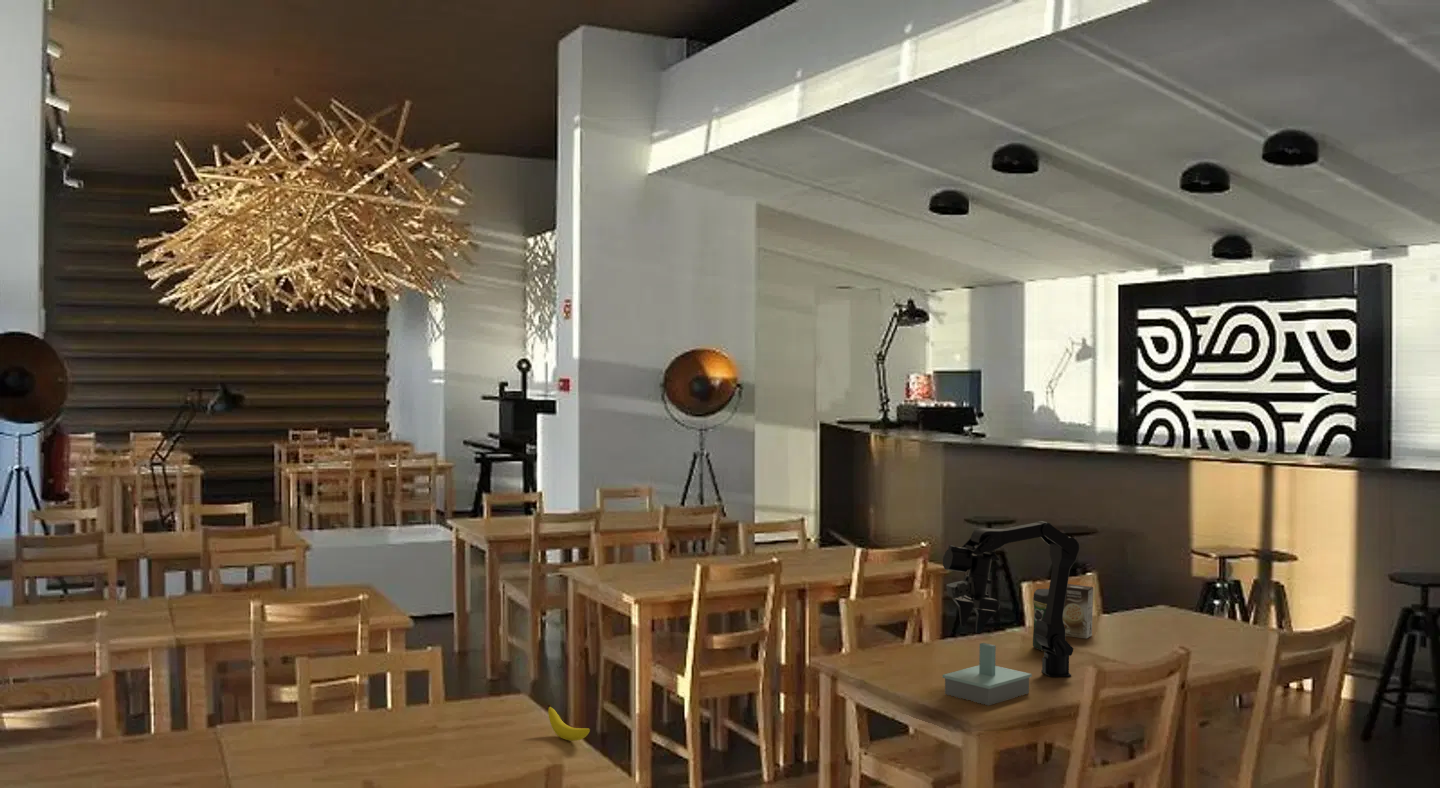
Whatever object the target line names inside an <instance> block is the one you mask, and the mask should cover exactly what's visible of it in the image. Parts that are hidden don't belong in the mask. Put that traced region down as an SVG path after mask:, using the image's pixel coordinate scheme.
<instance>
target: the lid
mask: <svg viewBox="0 0 1440 788" xmlns="http://www.w3.org/2000/svg"><path fill="white" fill-rule="evenodd" d="M996 647H997V646H996V645H995V644H990V643H986V642H980V643H979V655H978V656H979V662H978V665H974V666H971V667H967V668H963V669H959V670H956V671H952V672H948V673H945V674H942V679H945V678H946V679H950V680H954V681H958V682H962V683H966V684H970V685H975V686H979V687H983V688H987V689H991V688H994V687H998V686H1001V685H1005V684H1008V683H1012V682H1016V681H1019V680H1023V679H1026V678H1029V679H1030V678H1032V676H1033V674H1032V673H1030V672H1025V671H1020V670H1016V669H1011V668H1006V667H1002V666H999V665H996V656H997V655H996V654H997V653H996Z"/></svg>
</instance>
